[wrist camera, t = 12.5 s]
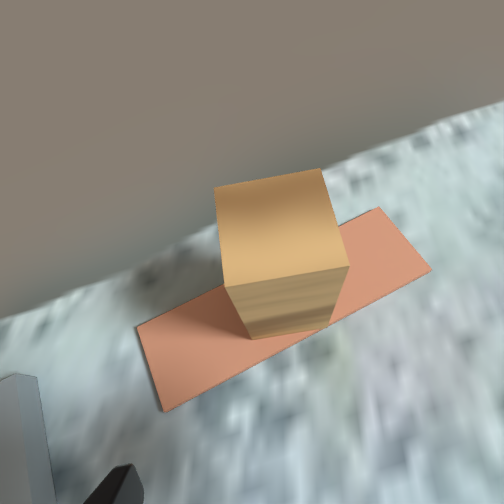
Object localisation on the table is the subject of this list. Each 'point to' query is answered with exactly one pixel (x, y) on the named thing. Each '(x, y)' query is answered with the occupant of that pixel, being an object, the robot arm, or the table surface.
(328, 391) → the table surface
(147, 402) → the table surface
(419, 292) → the table surface
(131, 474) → the robot arm
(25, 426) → the slate ledge
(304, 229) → the oak block
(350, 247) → the terracotta mat
